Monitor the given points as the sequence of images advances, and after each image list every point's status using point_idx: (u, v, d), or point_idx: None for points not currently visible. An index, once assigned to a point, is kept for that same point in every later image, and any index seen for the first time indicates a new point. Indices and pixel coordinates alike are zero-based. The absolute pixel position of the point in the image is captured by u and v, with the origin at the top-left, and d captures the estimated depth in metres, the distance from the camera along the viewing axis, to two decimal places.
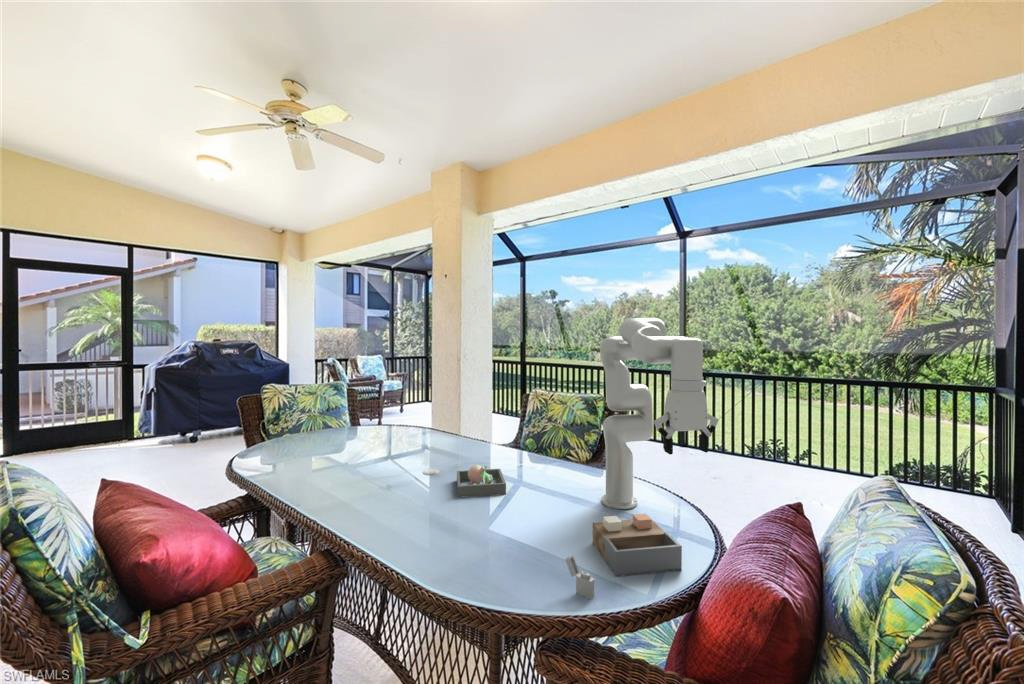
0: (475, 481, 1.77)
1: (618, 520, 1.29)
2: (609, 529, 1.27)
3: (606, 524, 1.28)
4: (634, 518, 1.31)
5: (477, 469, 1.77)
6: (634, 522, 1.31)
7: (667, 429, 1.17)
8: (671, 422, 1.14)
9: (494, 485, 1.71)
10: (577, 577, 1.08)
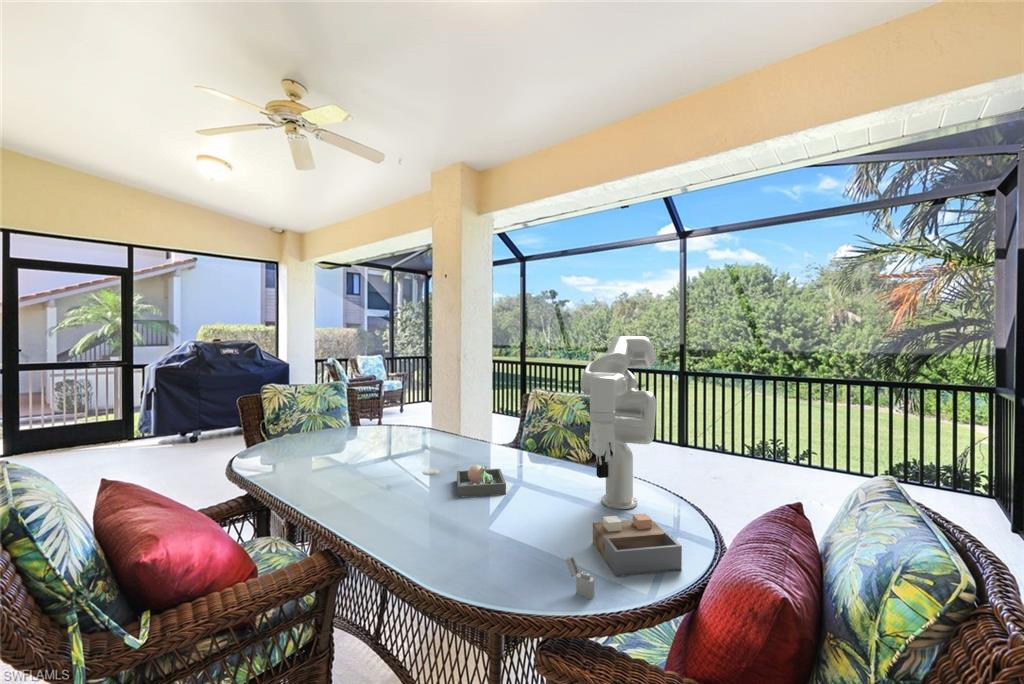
0: (475, 481, 1.77)
1: (618, 520, 1.29)
2: (609, 529, 1.27)
3: (606, 524, 1.28)
4: (634, 518, 1.31)
5: (477, 469, 1.77)
6: (634, 522, 1.31)
7: None
8: (613, 449, 1.32)
9: (494, 485, 1.71)
10: (577, 577, 1.08)
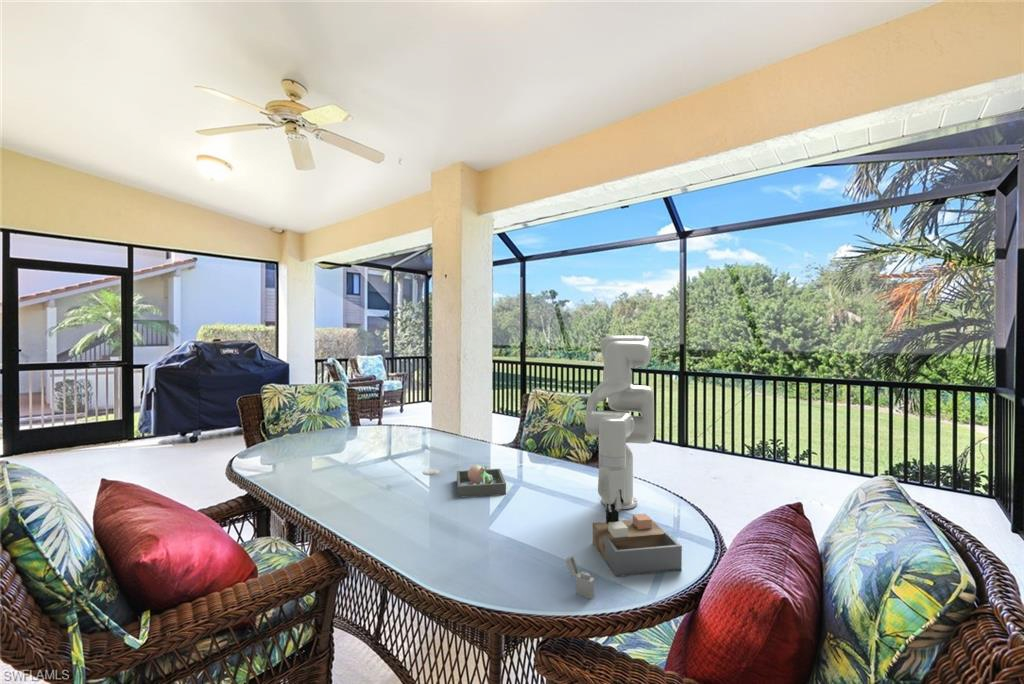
0: (475, 481, 1.77)
1: (624, 526, 1.25)
2: (615, 535, 1.24)
3: (612, 530, 1.25)
4: (634, 518, 1.31)
5: (477, 469, 1.77)
6: (634, 522, 1.31)
7: None
8: (624, 497, 1.24)
9: (494, 485, 1.71)
10: (577, 577, 1.08)
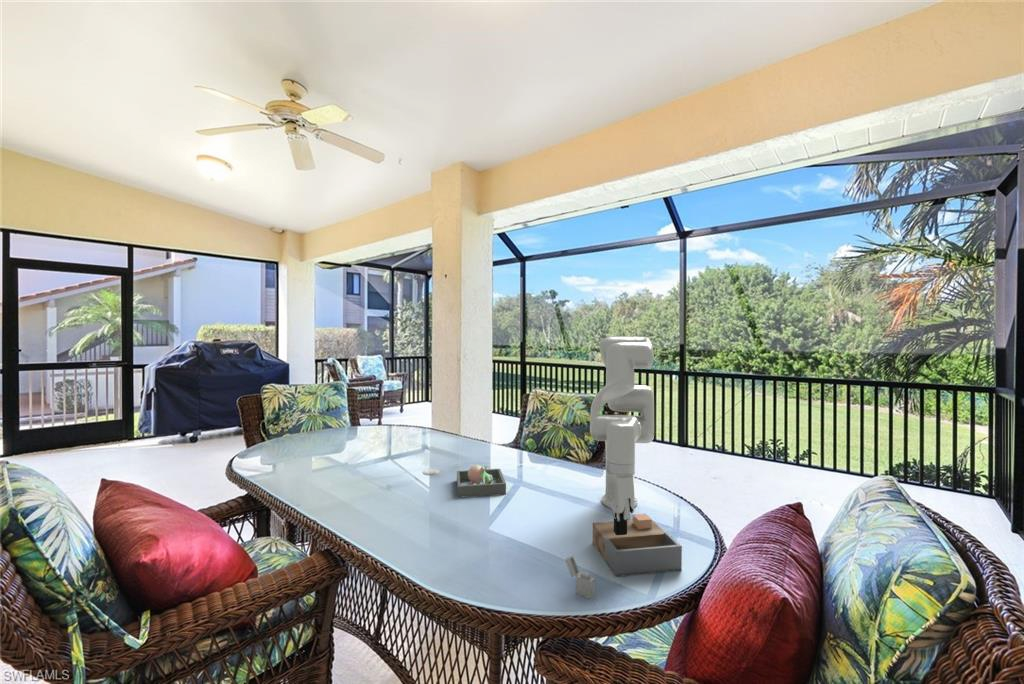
0: (475, 481, 1.77)
1: None
2: None
3: None
4: (634, 518, 1.31)
5: (477, 469, 1.77)
6: (634, 522, 1.31)
7: None
8: (633, 506, 1.18)
9: (494, 485, 1.71)
10: (577, 577, 1.08)
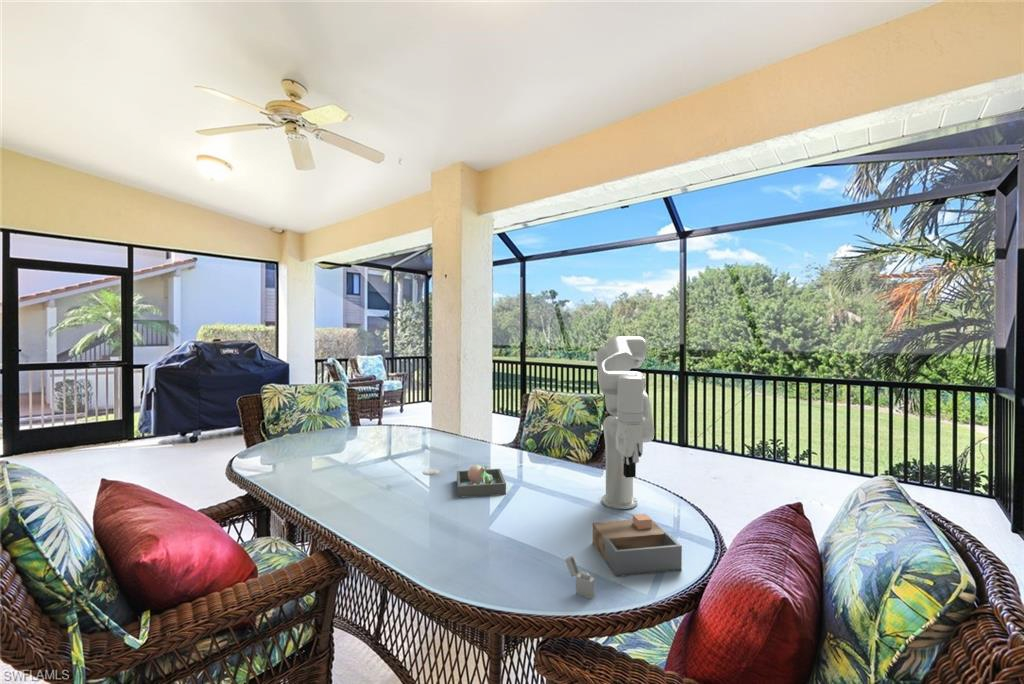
0: (475, 481, 1.77)
1: None
2: None
3: None
4: (634, 518, 1.31)
5: (477, 469, 1.77)
6: (634, 522, 1.31)
7: None
8: (641, 450, 1.31)
9: (494, 485, 1.71)
10: (577, 577, 1.08)
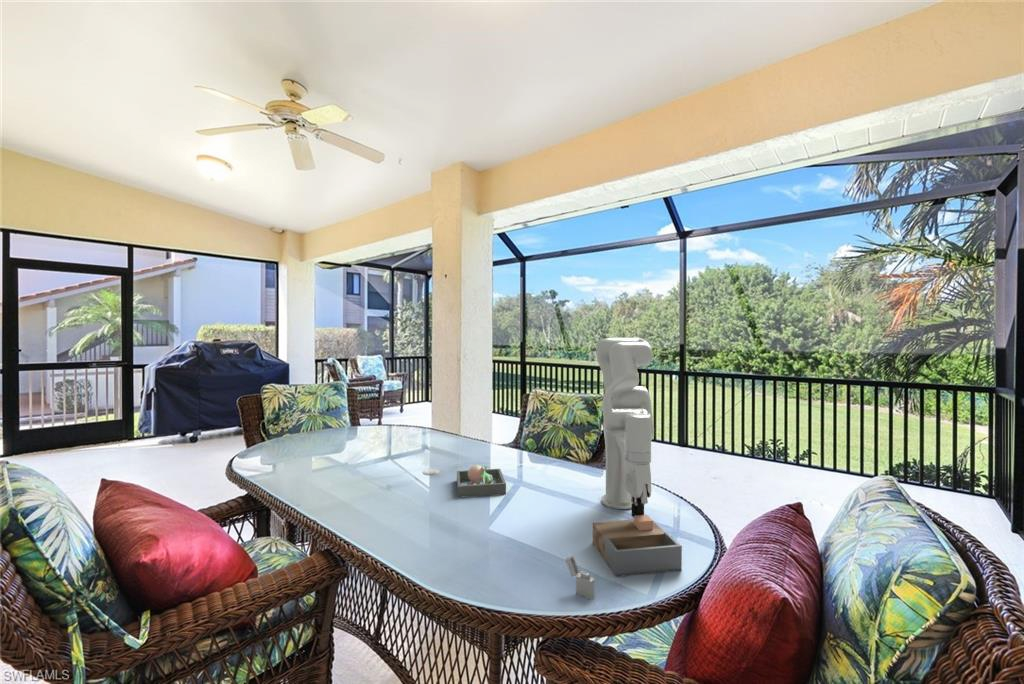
0: (475, 481, 1.77)
1: None
2: None
3: None
4: (635, 519, 1.30)
5: (477, 469, 1.77)
6: (635, 523, 1.30)
7: None
8: (650, 491, 1.29)
9: (494, 485, 1.71)
10: (577, 577, 1.08)
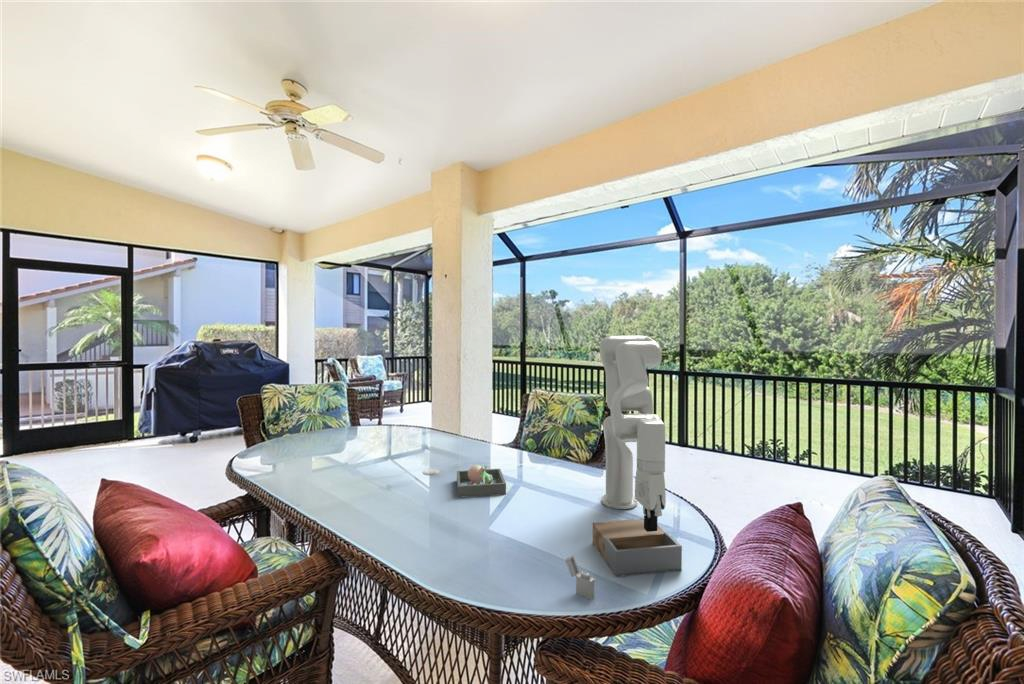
0: (475, 481, 1.77)
1: None
2: None
3: None
4: None
5: (477, 469, 1.77)
6: None
7: None
8: (664, 502, 1.20)
9: (494, 485, 1.71)
10: (577, 577, 1.08)
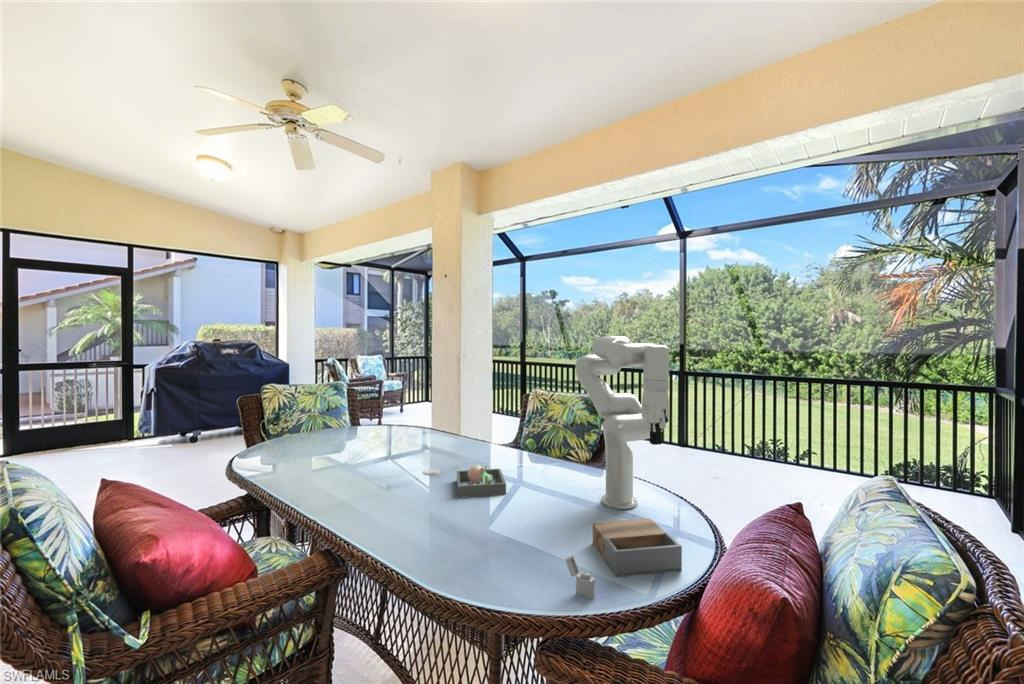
0: (475, 481, 1.77)
1: None
2: None
3: None
4: None
5: (477, 469, 1.77)
6: None
7: None
8: (668, 416, 1.35)
9: (494, 485, 1.71)
10: (577, 577, 1.08)
